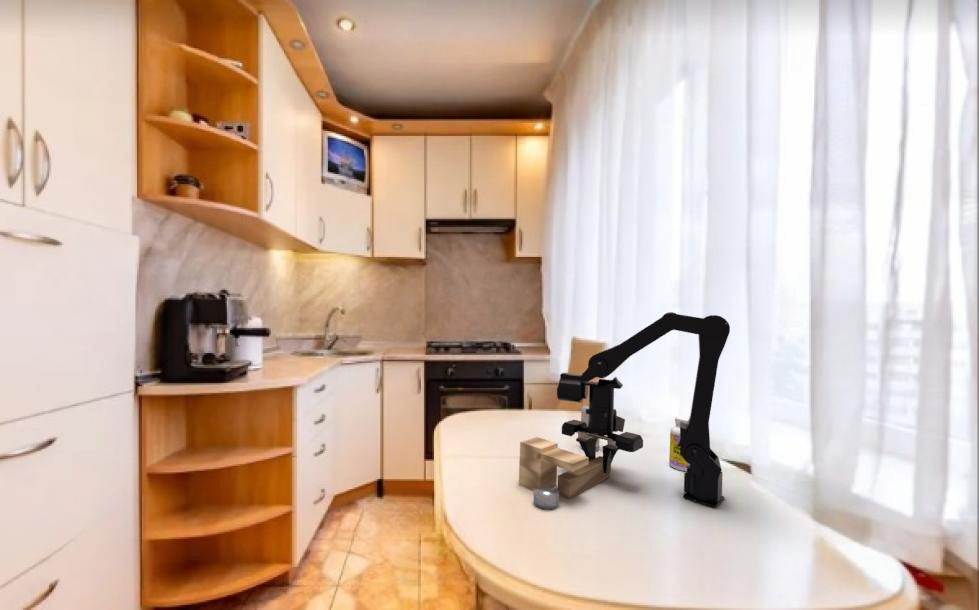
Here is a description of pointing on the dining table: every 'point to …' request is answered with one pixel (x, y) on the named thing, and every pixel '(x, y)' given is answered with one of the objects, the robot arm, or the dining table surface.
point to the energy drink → (586, 419)
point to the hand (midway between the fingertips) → (599, 470)
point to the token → (546, 497)
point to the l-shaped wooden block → (545, 462)
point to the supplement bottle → (675, 455)
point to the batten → (582, 478)
